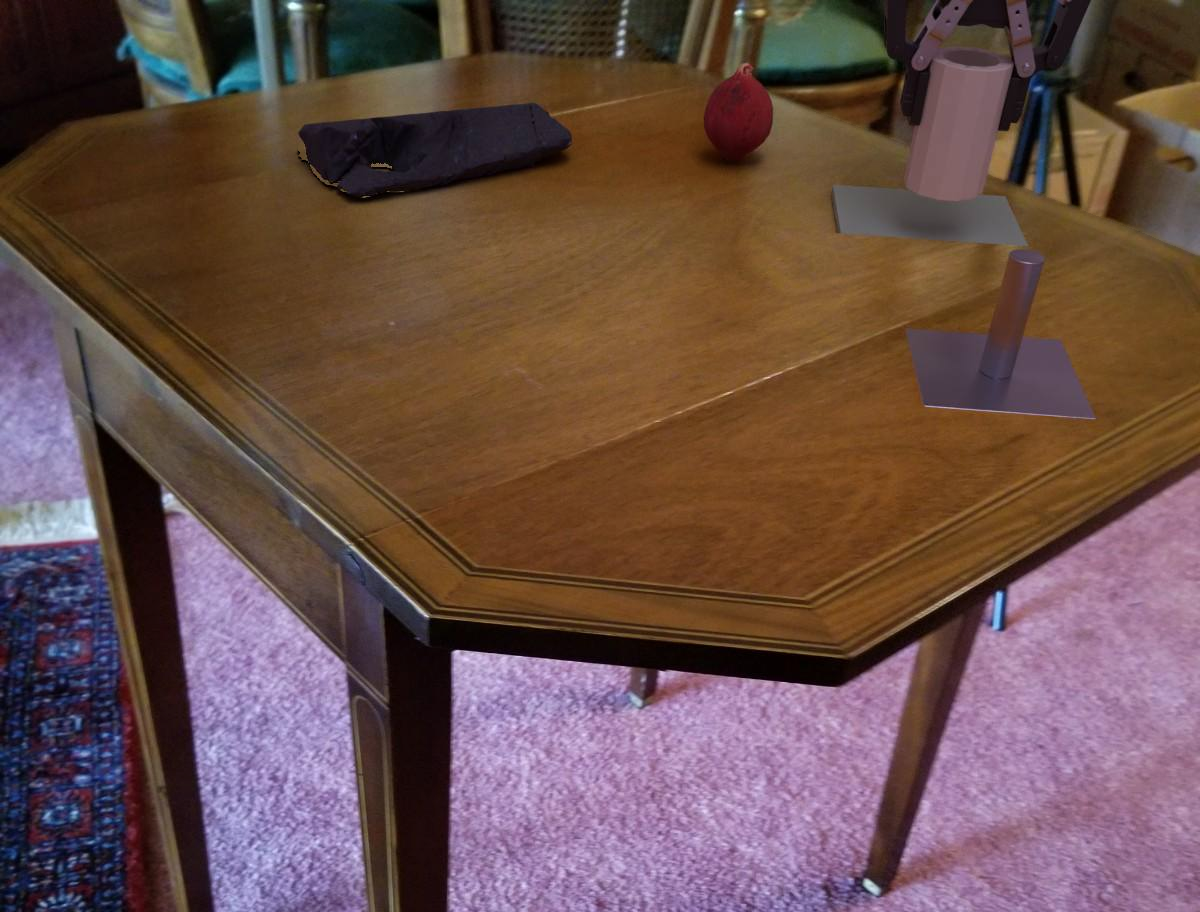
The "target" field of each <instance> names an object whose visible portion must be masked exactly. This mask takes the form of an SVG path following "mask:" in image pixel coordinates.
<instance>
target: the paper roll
mask: <svg viewBox="0 0 1200 912" xmlns="http://www.w3.org/2000/svg"><path fill="white" fill-rule="evenodd" d="M1013 67H1014V63H1013V62H1012V60H1011V58H1010V56H1006V55H1004V54H1002V53H999V52H997V51H995V50H989V49H985V48H980V47H973V46H972V47H971V46H957V45H955V46H945V47H940V48H939V49H938V51H937V52H936V54H935V55H934V57H933V58H932V60H931V62H930V63H929V65H928V69H929V71H930V77H929V82H928V87H927V92H926V97H925V102H924V107H923V111H922V116H921V121H920V125H919V126H916V125H914V128H913V133H912V136H911V137H912V138H911V143H910V148H909V153H908V157H907V162H906V168H905V172H904V178H903V181H904V185H905V188H906V189H907V190H911V191H913V192H914V193H916V194H918V195H921V196H925V197H929V198H932V199H936V200H945V201H963V200H970V199H975V198H976V197H978V196H979V195H983V194H984V189H985V185H986V181H987V177H988V173H989V169H990V165H991V161H992V157H993V153H994V148H995V145H996V140H997V137H998V132H999V131H998V128H999V124H1000V120H1001V116H1002V112H1003V108H1004V103H1005V99H1006V95H1007V91H1008V87H1009V83H1010V79H1011V75H1012V71H1013Z"/></svg>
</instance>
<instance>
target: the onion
mask: <svg viewBox="0 0 1200 912" xmlns="http://www.w3.org/2000/svg"><path fill="white" fill-rule="evenodd" d="M753 71H754V67H753V66H752V65H751V64H750V63H749V62H744V63H741V64H740V65H739V66H738V68H737V69H736V70H735V72H734V73H733V75H731V76H729V77H727V78H725V79H724V80H722V82H720V83H719V84H718V85H717V86H716V88H715V89H713V91H712V92H711V94H710V95H709V98H708V101H707V102H706V106H705V108H704V113H703V129H704V131H705V135H706V137H707V139H708V140H709V142H710V143H711V144H712V146H713V147H714V149H715V150H716V151H717V152H718V153H719V154H720V155H722V156H723V157H724V158H725V159H727V160H728V161H730V162H732V163H738V162H740V161H742V160H743V159H744V158H745V157H747V156H748V155H750V154H751V153H753V152H754V151H756V150H757V149H758V148H759V147H760V146H762V145H763V144H764V143H765V142H766V140H767V139H768V137H769V136H770V134H771V132H772V128H773V121H774V106H773V101H772V99H771V96H770V94H769V92H768V90H767V89H766V88H765V86H764V85H763V84H762V83H761V82H760V81H759V80H758V79H756V78H755V77H754V76H753Z"/></svg>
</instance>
